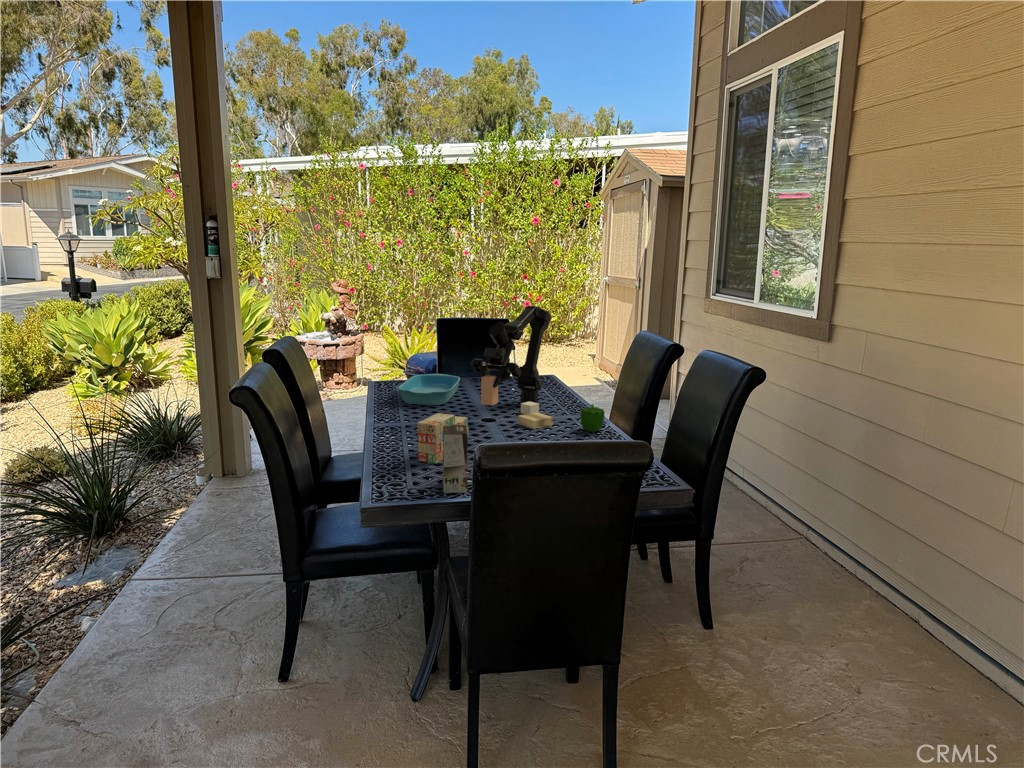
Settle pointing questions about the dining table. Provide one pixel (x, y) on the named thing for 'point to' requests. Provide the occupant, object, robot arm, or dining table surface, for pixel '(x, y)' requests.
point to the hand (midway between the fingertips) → (487, 386)
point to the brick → (529, 407)
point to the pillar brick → (488, 390)
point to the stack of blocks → (435, 436)
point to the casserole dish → (429, 389)
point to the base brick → (535, 420)
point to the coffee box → (455, 458)
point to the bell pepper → (592, 418)
